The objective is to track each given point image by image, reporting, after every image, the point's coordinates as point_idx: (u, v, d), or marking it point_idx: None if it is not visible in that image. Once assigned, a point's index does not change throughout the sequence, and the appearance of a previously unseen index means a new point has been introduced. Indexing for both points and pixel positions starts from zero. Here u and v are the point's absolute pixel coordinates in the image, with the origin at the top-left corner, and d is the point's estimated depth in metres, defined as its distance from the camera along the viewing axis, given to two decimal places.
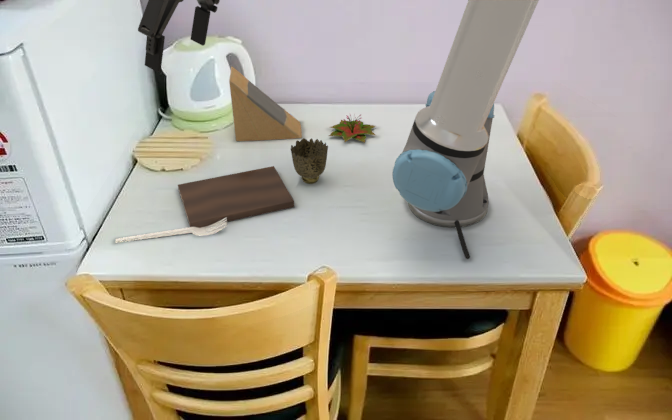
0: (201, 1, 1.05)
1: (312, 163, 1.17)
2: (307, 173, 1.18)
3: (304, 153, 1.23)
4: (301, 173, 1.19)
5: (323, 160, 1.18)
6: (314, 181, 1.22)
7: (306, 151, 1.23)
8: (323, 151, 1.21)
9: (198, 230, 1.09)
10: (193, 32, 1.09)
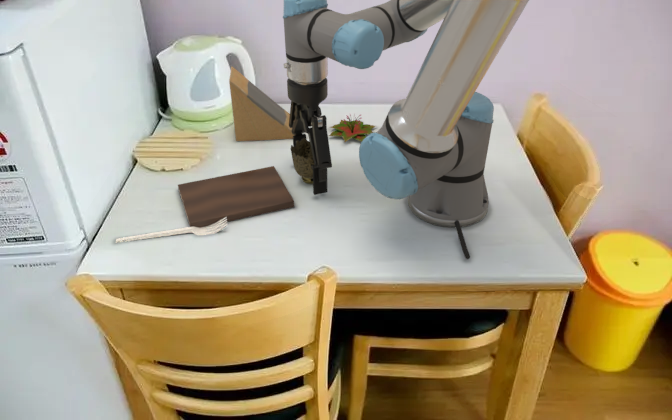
0: (299, 128, 1.22)
1: (312, 163, 1.17)
2: (307, 173, 1.18)
3: (304, 153, 1.23)
4: (301, 173, 1.19)
5: None
6: None
7: (306, 151, 1.23)
8: None
9: (199, 230, 1.09)
10: None
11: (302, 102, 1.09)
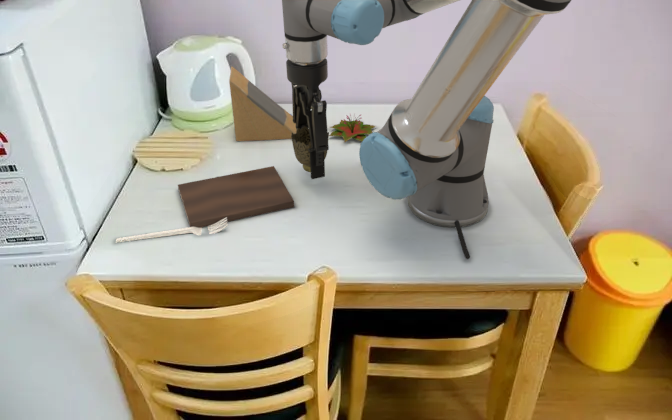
0: (303, 121, 1.19)
1: None
2: (308, 160, 1.16)
3: (305, 141, 1.21)
4: (302, 160, 1.17)
5: None
6: None
7: (307, 139, 1.21)
8: None
9: (199, 230, 1.09)
10: None
11: (302, 83, 1.07)
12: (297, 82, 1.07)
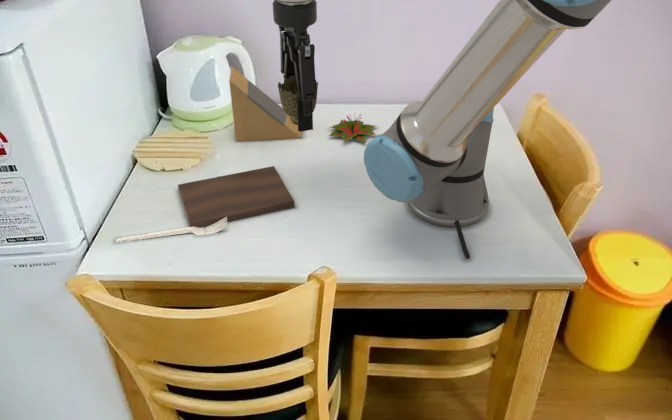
0: (291, 70, 1.12)
1: None
2: (295, 111, 1.10)
3: (293, 93, 1.15)
4: (289, 112, 1.11)
5: None
6: None
7: (295, 90, 1.14)
8: None
9: (199, 230, 1.09)
10: None
11: (288, 25, 1.00)
12: (284, 24, 1.00)
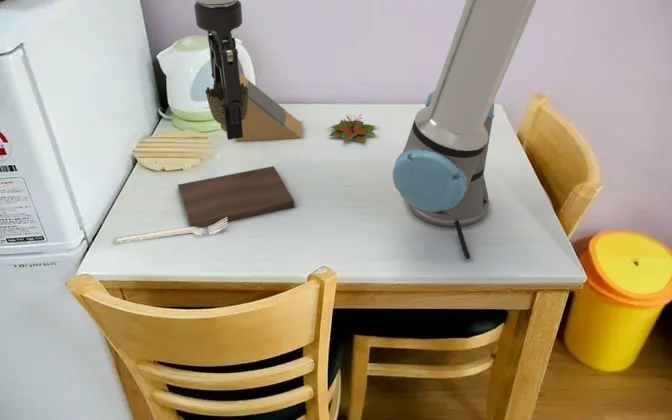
0: (221, 75, 1.07)
1: None
2: (224, 118, 1.05)
3: None
4: (217, 118, 1.06)
5: None
6: None
7: None
8: (244, 95, 1.08)
9: (199, 230, 1.09)
10: None
11: (210, 28, 0.95)
12: (205, 27, 0.95)
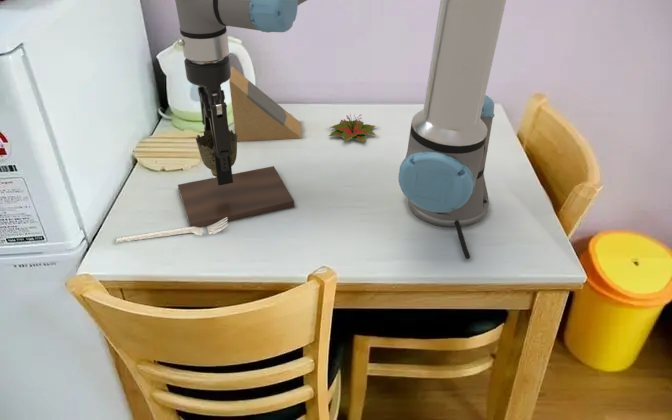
0: None
1: None
2: (214, 165, 1.09)
3: None
4: (208, 165, 1.09)
5: None
6: None
7: None
8: (234, 142, 1.12)
9: (199, 230, 1.09)
10: None
11: (200, 83, 0.99)
12: (195, 82, 0.99)
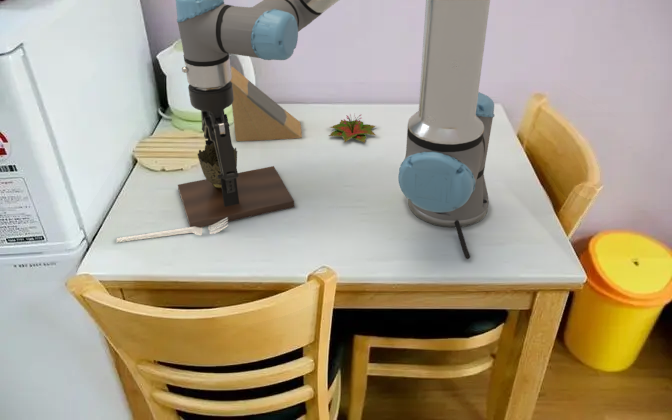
0: None
1: (219, 170, 1.12)
2: (215, 180, 1.14)
3: (215, 157, 1.18)
4: (209, 179, 1.14)
5: None
6: None
7: None
8: (234, 156, 1.16)
9: (199, 230, 1.09)
10: None
11: (203, 109, 1.02)
12: (199, 107, 1.02)
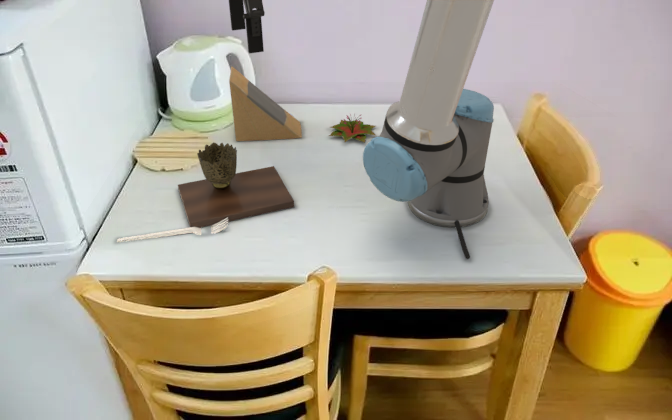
0: None
1: (218, 168, 1.12)
2: (215, 179, 1.14)
3: (215, 158, 1.18)
4: (209, 179, 1.15)
5: (231, 165, 1.14)
6: (224, 187, 1.17)
7: (217, 155, 1.18)
8: (234, 156, 1.17)
9: (200, 230, 1.09)
10: (233, 22, 1.18)
11: None
12: None
